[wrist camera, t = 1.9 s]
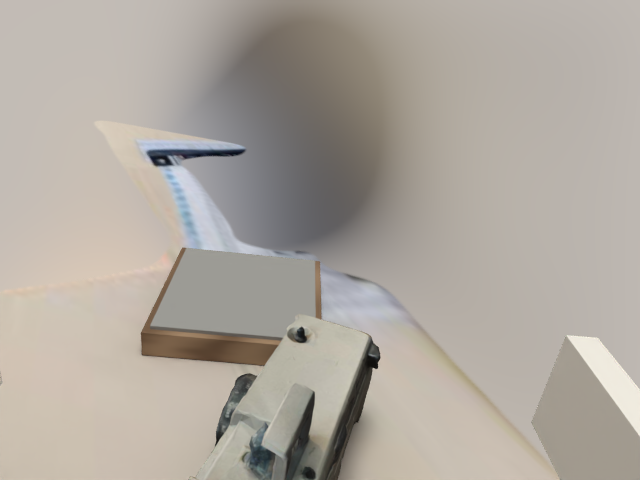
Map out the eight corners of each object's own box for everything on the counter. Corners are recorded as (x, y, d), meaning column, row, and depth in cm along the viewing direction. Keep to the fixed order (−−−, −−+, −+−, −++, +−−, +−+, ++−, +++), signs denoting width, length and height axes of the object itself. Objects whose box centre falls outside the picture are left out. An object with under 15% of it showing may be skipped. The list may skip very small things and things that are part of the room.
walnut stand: (142, 354, 38) (141, 329, 37) (182, 266, 49) (182, 244, 48) (318, 369, 38) (322, 345, 37) (317, 279, 50) (320, 258, 49)
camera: (270, 381, 37) (282, 259, 33) (371, 416, 35) (398, 293, 31) (135, 581, 24) (124, 425, 20) (282, 654, 22) (307, 501, 18)
